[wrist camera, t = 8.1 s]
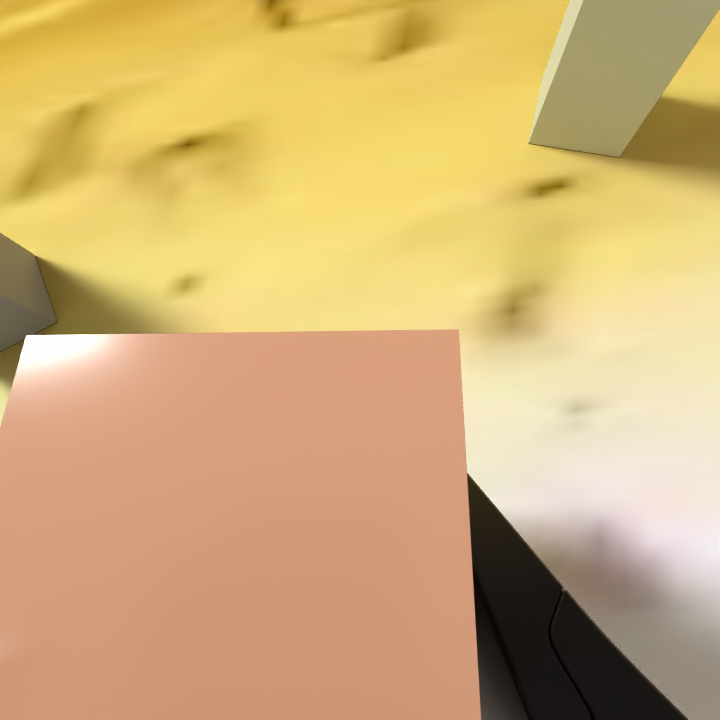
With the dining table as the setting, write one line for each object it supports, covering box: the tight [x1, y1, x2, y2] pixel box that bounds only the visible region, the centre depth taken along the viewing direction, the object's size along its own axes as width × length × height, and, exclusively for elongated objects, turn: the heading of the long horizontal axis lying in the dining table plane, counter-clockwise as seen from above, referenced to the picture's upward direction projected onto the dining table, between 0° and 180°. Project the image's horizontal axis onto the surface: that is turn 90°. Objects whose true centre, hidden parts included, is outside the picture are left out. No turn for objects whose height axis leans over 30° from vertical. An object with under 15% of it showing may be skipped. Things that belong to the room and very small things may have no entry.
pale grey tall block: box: [528, 0, 720, 157], centre depth 22 cm, size 6×6×11 cm
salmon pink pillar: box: [0, 330, 481, 720], centre depth 10 cm, size 6×6×11 cm
